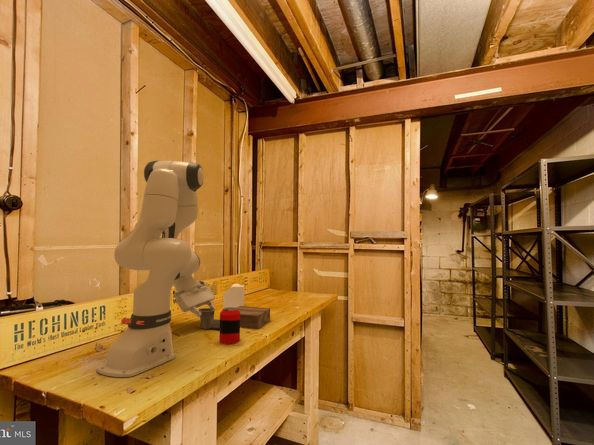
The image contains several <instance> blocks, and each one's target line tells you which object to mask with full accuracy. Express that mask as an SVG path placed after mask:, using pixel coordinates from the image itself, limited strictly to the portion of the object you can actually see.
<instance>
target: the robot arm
mask: <svg viewBox="0 0 594 445" xmlns="http://www.w3.org/2000/svg"><path fill="white" fill-rule="evenodd" d="M143 177H144V181H145V182H146V186H145V188H144V192H143V200H142V205H141V209H140V214H139V217H138V220H137V223H136V225H135V226H134V228H133V229H132V231H131V232H130V233H129V234H128V236H126V238H124V239H123V240H121V241H120V242H119V243H117V245H116V247H115V249H114V252H113V253H114V260H115V262H116V264H117V265H118V266H119V267H120V268H123V269H124V268H125V269H129V270H132V271H148V276H147V278H146V280H145V281H144V282H141V283H140V284H139V285H138V286H137V287H136V288H135V289H134V291H133V302H132V303H133V304H132V305H133V306H132V313H131V315H130V318H129V317H122V319H121V320H120V323H121V324H122V325H126V326H127V328H125V330H124V331H122V334H120V335H119V336H118V338H117V339H116V340H115V341H114V342H113V343H111V345H110V346H109V347H108V350H107V353H106V360H105V361H104V362H102V363H100V364H99V365H97V366H96V372H97V373H98V374H100V375H103V376H108V377H115V378H129V377H134V376H137V375H139V374H140V373H143V372H146V371H148V370H151V369H152V368H155V367H158V366H160V365H162V364H165V363H167V362H169V361H172V360H174V359H175V358H176V354H175V350H174V347H173V346H174V345H173V334H172V328H171V324H170V323H171V321H172V311H171V296H172V295H171V293H172V287H174V289H175V290H176V292H175V293H174V296H173V297H174V298H175V301H176V304H177V305H178V307H179V309H180V311H181V312H183V313H187V312H191V313H192V314H194V315H195V316H196V317H197V318H200V316H202V312H201V311H199V309H198V308H200V307H203V306H205V305H207V306H208V308H211V309H214V310H215V311H216V307H215V306H214V303H213V301H214V300H216V296H215V294H214V293H213V291H212V290H211V288H210V287H208V286H207V283H206V282H205V281H204V280H200V279H199V280H198V279H195V277H193V274H195V273H196V272H197V270H199V268H200V266H201V259H200V257H199V255H198V254H197V253H195V251H193V250H192V248H191V246H190V244H189V242H187V241H186V240H184V239H183V240H182V239H178V237H179V235H180V234H181V233H182V232H183V231H184V230H185V229H186V228H188V227H189V226H191V225H192V224H193V223H195V222H196V220H197V219H198V215H199V200H198V190H199V189H200V188H201V187H202V186H203V184H204V182H205V181H204V180H205V173H204V169H203V167H202V166H201V165H200V164H199V163H197V162H192V161H190V162H187V161H181V160H152V161H150V162H148V163H147V164H146V165H145V166H144V169H143Z"/></svg>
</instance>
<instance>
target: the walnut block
mask: <svg viewBox="0 0 594 445" xmlns="http://www.w3.org/2000/svg"><path fill="white" fill-rule="evenodd" d="M236 308H238V310H239V311H240V329H241V328H242V329H249V330H259V329H260V328H262V327H264V326H265V325H266V324H267V323H269V322H270V321H271V308H269V307H259V306H247V305H246V306H245V305H244V306H238V307H236Z"/></svg>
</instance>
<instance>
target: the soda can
mask: <svg viewBox="0 0 594 445" xmlns="http://www.w3.org/2000/svg"><path fill="white" fill-rule="evenodd" d="M219 320H220V329H219V339H218V340H219V341H218V342H219V343H220V344H222V345H235V344H238V342H240V341H241V328H240V311H239V310H238V308H235V307H223V309H222V310H221V311H220V312H219Z"/></svg>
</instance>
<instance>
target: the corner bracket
mask: <svg viewBox="0 0 594 445" xmlns="http://www.w3.org/2000/svg"><path fill="white" fill-rule="evenodd" d="M222 299H223V300H222V301H223V307H222V308H228V307H235V308H236V307H238V306H245V285H244V284H240V283H233V284H232V285H231V286H230V287H229V288H228V289H227V290H226V291H225V292H224V293H223V298H222Z"/></svg>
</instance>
